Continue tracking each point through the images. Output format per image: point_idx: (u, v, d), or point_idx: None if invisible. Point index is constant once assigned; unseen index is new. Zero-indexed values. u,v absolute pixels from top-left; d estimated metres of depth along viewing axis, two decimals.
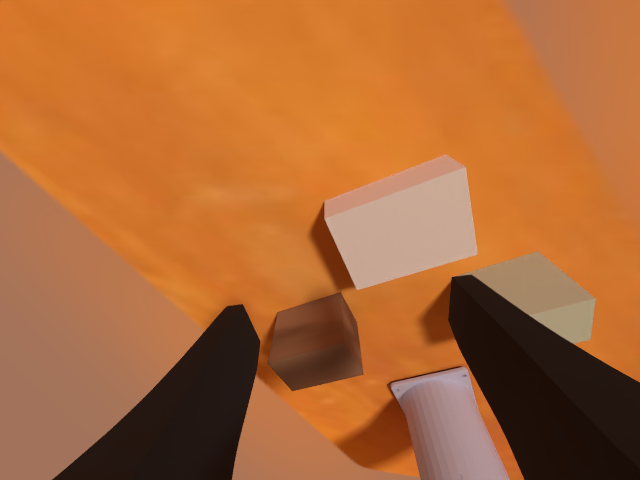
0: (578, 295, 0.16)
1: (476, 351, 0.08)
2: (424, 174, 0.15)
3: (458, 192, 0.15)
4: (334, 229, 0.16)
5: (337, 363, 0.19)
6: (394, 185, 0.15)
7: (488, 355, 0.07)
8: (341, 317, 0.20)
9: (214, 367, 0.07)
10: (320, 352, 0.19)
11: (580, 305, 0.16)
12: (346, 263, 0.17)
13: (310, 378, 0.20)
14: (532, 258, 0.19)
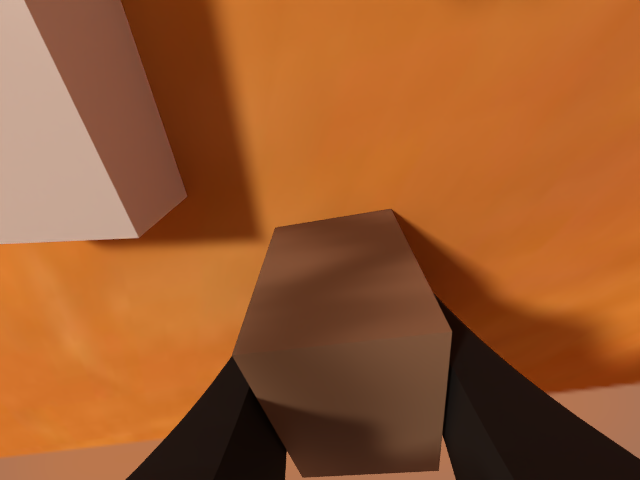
0: None
1: None
2: None
3: None
4: None
5: (345, 383, 0.05)
6: None
7: None
8: (258, 280, 0.07)
9: None
10: (274, 406, 0.06)
11: None
12: (40, 238, 0.07)
13: (398, 439, 0.07)
14: None
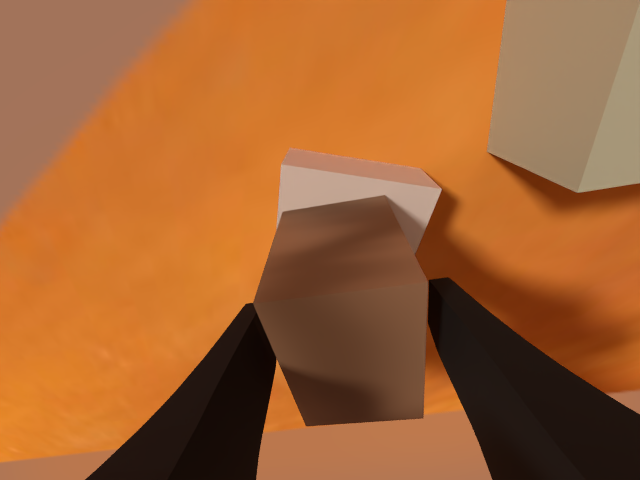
0: None
1: (450, 354, 0.08)
2: None
3: (314, 184, 0.10)
4: None
5: (344, 330, 0.07)
6: None
7: (460, 358, 0.07)
8: (270, 252, 0.08)
9: (239, 364, 0.07)
10: (285, 353, 0.07)
11: None
12: None
13: (388, 386, 0.08)
14: None
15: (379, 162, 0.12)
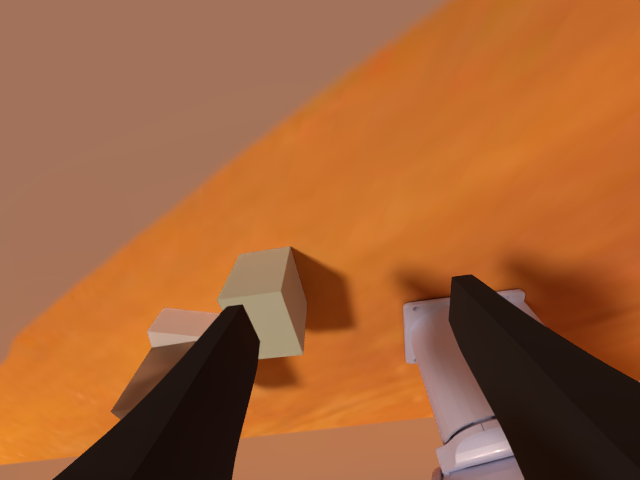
0: None
1: (476, 351, 0.08)
2: None
3: (164, 337, 0.22)
4: None
5: None
6: None
7: (488, 355, 0.07)
8: (131, 380, 0.20)
9: (214, 367, 0.07)
10: None
11: None
12: None
13: None
14: None
15: (210, 313, 0.24)
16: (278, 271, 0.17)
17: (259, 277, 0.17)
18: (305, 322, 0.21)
